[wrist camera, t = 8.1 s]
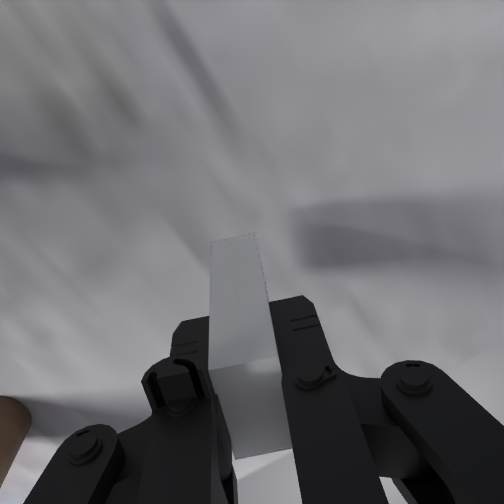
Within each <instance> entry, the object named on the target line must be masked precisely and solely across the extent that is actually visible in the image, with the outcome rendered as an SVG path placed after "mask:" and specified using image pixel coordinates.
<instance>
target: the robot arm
mask: <svg viewBox="0 0 504 504" xmlns="http://www.w3.org/2000/svg"><path fill="white" fill-rule="evenodd" d="M171 347H172V348H171V351H170V357H168V358H165V359H162V360H161V361H159V362H157V363H156V364H154V365H152V366H151V367H150V368H149V369H148V370H147V372H146V373H145V374H144V376H143V378H142V380H141V383H142V385H143V388H144V391H145V393H146V396H147V398H148V401H149V403H150V406H151V409H152V415H151V416H150V417H149V418H148V419H146V420H145V421H143V422H141V423H140V424H138V425H136V426H134V427H132V428H130V429H127V430H125V431H123V432H121V433H119V434H117V433H116V431H115V430H114V429H113V428H112V427H110V426H109V425H103V424H97V425H91V426H87V427H85V428H83V429H81V430H78V431H76V432H75V433H74V434H72V435H71V436H70V437H68V438H67V439H66V440H65V441H64V442H63V443H62V444H61V446H60V447H59V448H58V449H57V451H56V452H55V454H54V456H53V457H52V459H51V460H50V462H49V463H48V465H47V467H46V468H45V470H44V471H43V473H42V475H41V476H40V478H39V479H38V481H37V482H36V484H35V486H34V487H33V489H32V490H31V492H30V494H29V495H28V497H27V498H26V500H25V502H24V503H23V504H238V493H237V479H236V475H235V472H234V469H233V465H232V451H233V454H234V457H235V460H236V459H241V458H246V457H251V456H256V455H261V454H266V453H272V452H277V451H282V450H287V449H292V448H293V453H294V459H295V464H296V470H297V475H298V481H299V487H300V492H301V498H302V504H389V503H388V500H387V497H386V495H385V492H384V489H383V486H382V484H381V481H380V478H379V476H380V477H390V478H392V481H393V483H394V484H395V486H396V487H397V489H398V490H399V491H400V493H401V494H402V496H403V497H404V499H405V500H406V501H407V503H408V504H504V426H503V425H502V424H501V423H500V422H499V421H498V420H496V419H495V418H494V417H493V416H492V415H491V414H490V413H489V412H488V411H486V410H485V409H484V408H483V407H482V406H481V405H480V404H479V403H478V402H477V401H475V400H474V399H473V398H472V397H471V396H470V395H469V394H468V393H466V391H464V390H463V389H462V388H461V387H460V386H459V385H458V384H457V383H456V382H454V381H453V380H452V379H451V378H450V377H449V376H448V375H447V374H446V373H445V372H443V371H442V370H441V369H439V368H438V367H436V366H434V365H433V364H430V363H426V362H423V361H415V360H406V361H402V362H398V363H395V364H393V365H391V366H390V367H388V368H386V370H385V371H384V373H383V374H382V375H381V378H364V377H357V376H354V375H351V374H348V373H346V372H344V371H342V370H341V369H340V368H339V367H338V366H337V365H336V364H335V362H334V360H333V358H332V355H331V352H330V349H329V346H328V344H327V341H326V338H325V335H324V332H323V329H322V327H321V324H320V321H319V318H318V316H317V312H316V310H315V307H314V304H313V303H312V302H311V301H309V300H308V299H307V298H306V297H304V296H303V295H302V296H297V297H292V298H287V299H282V300H277V301H273V302H269V298H268V293H267V288H266V284H265V279H264V274H263V269H262V265H261V260H260V255H259V250H258V246H257V241H256V236H255V233H253V234H248V235H243V236H239V237H234V238H229V239H224V240H219V241H215V242H211V272H210V315H209V316H206V317H201V318H196V319H191V320H186V321H182V322H181V323H180V324H179V326H178V327H177V329H176V330H175V331H174V333H173V337H172V344H171Z"/></svg>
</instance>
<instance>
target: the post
mask: <svg viewBox="0 0 504 504" xmlns="http://www.w3.org/2000/svg"><path fill="white" fill-rule="evenodd" d="M30 426H31V415H30V413H29V411H28V410H27V409H26V407H25V406H23V405H22V404H21V403H19V402H18V401H16V400H14V399H11V398H8V397H3V396H0V487H1V485H2V483H3V481H4V479H5V477H6V475H7V473H8V471H9V469H10V467H11V465H12V463H13V461H14V459H15V457H16V455H17V453H18V450H19V448H20V446H21V444H22V442H23V440H24V438H25V436H26V434H27V432H28V430H29V428H30Z"/></svg>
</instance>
